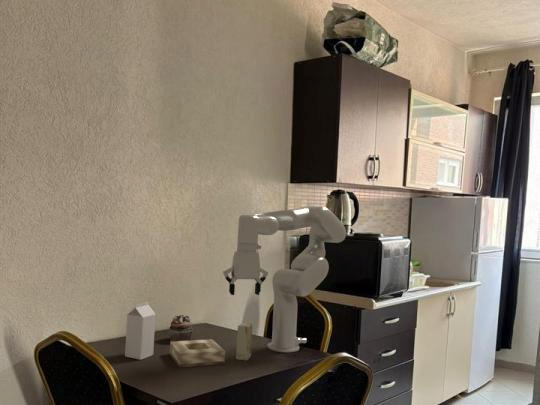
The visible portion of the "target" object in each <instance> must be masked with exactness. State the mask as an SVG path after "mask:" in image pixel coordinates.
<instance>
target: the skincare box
mask: <svg viewBox="0 0 540 405" xmlns="http://www.w3.org/2000/svg"><path fill="white" fill-rule="evenodd" d="M236 332H237V334H236V337H237V338H236V350H235V351H236V352H235V353H236V354H235V359H236V360H239V361H241V360H242V361H248V360H249V359H250V358H251V356H252V342H253V341H252V338H253V324H252V323H248V322H241V323H240V324H238V325H237V331H236Z"/></svg>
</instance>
